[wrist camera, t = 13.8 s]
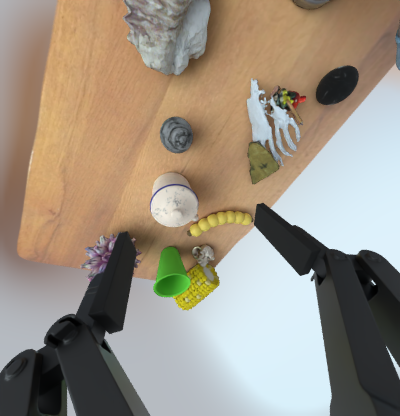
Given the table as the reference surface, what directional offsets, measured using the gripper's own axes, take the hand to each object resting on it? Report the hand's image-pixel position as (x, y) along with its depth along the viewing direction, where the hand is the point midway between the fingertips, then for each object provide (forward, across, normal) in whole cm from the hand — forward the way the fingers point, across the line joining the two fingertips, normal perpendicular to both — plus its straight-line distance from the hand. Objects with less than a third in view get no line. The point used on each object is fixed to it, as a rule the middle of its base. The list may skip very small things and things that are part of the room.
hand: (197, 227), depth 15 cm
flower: (+21, -18, -16) cm, 32 cm away
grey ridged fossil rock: (+22, +3, +22) cm, 31 cm away
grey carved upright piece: (+21, +1, +7) cm, 23 cm away
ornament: (+20, +3, -28) cm, 35 cm away
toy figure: (+17, +21, +10) cm, 29 cm away
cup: (+21, -7, -25) cm, 33 cm away
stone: (+22, +19, -1) cm, 29 cm away
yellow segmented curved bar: (+21, +10, -16) cm, 28 cm away
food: (+16, -4, -34) cm, 38 cm away
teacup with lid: (+21, -1, -6) cm, 22 cm away
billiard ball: (+22, +34, +12) cm, 42 cm away
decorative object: (+22, +21, +4) cm, 30 cm away
